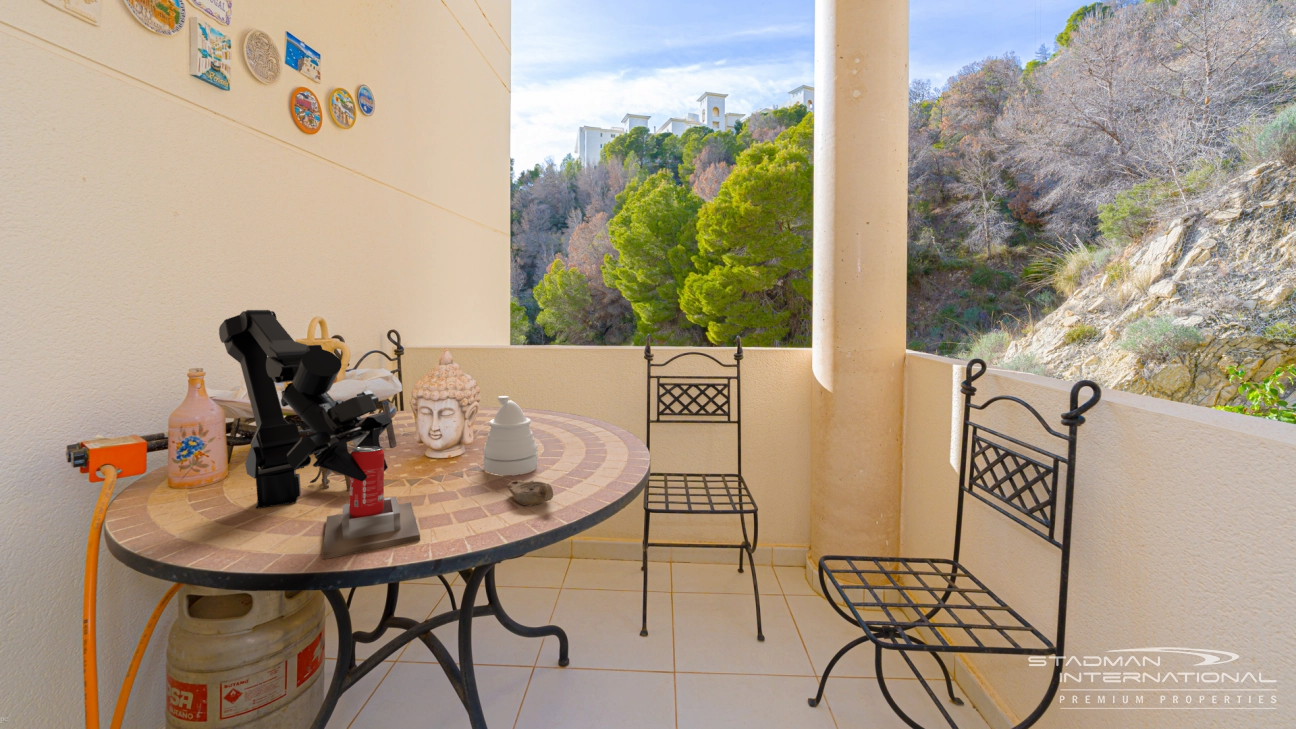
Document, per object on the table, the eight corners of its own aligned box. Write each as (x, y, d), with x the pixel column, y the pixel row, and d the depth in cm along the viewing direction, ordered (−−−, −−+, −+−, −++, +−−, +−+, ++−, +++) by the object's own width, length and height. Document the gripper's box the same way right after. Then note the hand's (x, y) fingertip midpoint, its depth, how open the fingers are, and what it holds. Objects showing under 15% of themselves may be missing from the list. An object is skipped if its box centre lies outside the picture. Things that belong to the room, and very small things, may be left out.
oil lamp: (498, 498, 107) (498, 474, 106) (529, 489, 112) (529, 467, 111) (533, 516, 98) (533, 491, 97) (565, 506, 103) (565, 482, 102)
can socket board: (322, 559, 80) (321, 535, 80) (327, 521, 94) (326, 500, 93) (420, 540, 87) (419, 517, 87) (411, 507, 101) (410, 487, 100)
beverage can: (369, 522, 86) (369, 452, 86) (342, 520, 87) (343, 450, 87) (390, 513, 91) (390, 446, 91) (364, 511, 92) (365, 444, 92)
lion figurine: (380, 483, 114) (378, 444, 113) (365, 492, 108) (363, 451, 107) (318, 481, 115) (316, 442, 114) (300, 489, 110) (297, 448, 109)
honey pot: (508, 479, 118) (507, 402, 116) (472, 469, 125) (470, 396, 122) (548, 465, 128) (547, 394, 126) (512, 456, 135) (511, 389, 133)
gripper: (297, 386, 79) (364, 461, 78) (381, 371, 97) (435, 431, 96) (258, 432, 81) (322, 506, 81) (346, 409, 99) (399, 468, 99)
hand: (375, 474), depth 89 cm, fingers closed on beverage can, 5 cm apart
